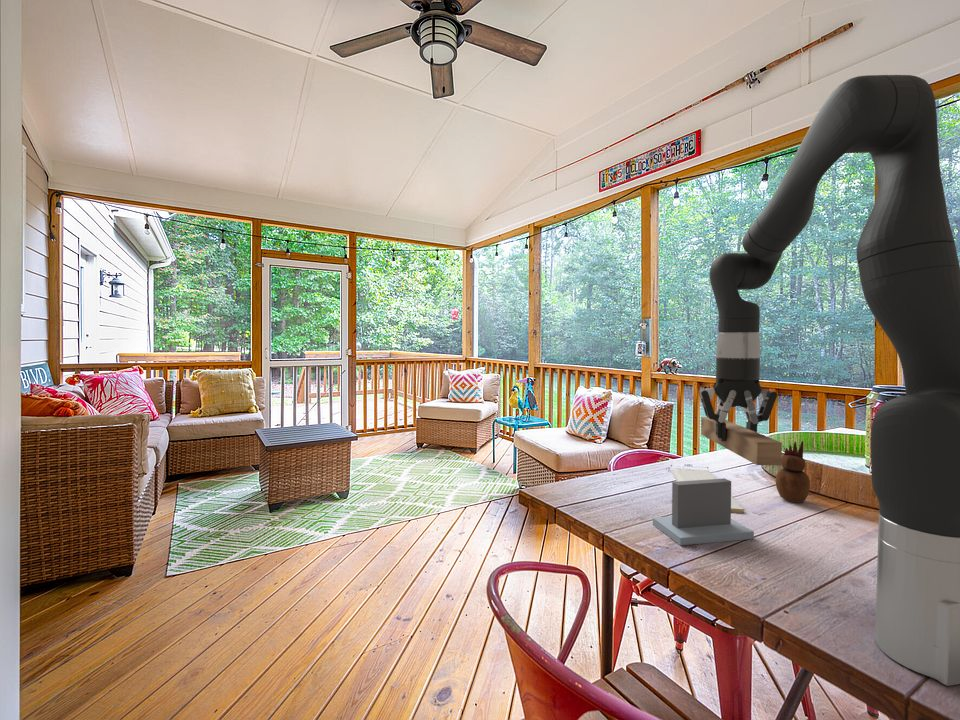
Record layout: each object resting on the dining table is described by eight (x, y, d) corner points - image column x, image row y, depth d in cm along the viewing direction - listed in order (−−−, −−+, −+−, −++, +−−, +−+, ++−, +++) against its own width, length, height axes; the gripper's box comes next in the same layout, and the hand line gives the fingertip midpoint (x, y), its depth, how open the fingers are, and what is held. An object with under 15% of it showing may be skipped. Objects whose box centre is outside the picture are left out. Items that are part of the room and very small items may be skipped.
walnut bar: (700, 434, 102) (701, 417, 102) (719, 434, 101) (719, 417, 101) (756, 465, 78) (757, 442, 78) (781, 465, 78) (781, 442, 77)
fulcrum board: (753, 538, 90) (754, 487, 89) (680, 545, 87) (680, 492, 87) (719, 518, 99) (720, 472, 99) (652, 524, 97) (653, 476, 97)
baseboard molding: (687, 511, 106) (743, 516, 103) (687, 499, 105) (744, 503, 103) (665, 472, 136) (708, 475, 133) (665, 463, 136) (708, 465, 133)
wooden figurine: (814, 503, 108) (816, 441, 107) (798, 506, 106) (800, 443, 105) (786, 494, 114) (787, 436, 114) (770, 497, 112) (771, 438, 112)
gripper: (770, 354, 90) (768, 438, 92) (694, 354, 94) (692, 435, 95) (786, 356, 83) (784, 447, 84) (703, 356, 87) (701, 443, 88)
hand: (735, 440), depth 90 cm, fingers closed on walnut bar, 4 cm apart
